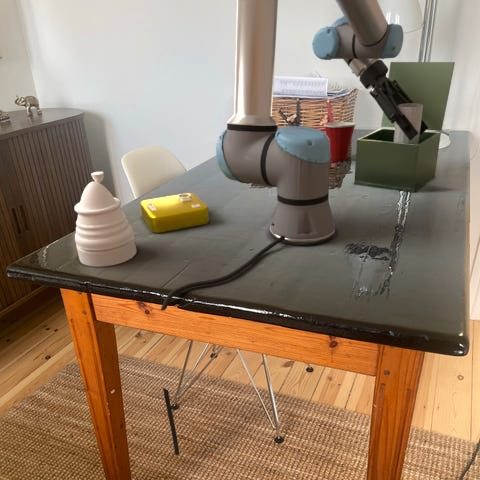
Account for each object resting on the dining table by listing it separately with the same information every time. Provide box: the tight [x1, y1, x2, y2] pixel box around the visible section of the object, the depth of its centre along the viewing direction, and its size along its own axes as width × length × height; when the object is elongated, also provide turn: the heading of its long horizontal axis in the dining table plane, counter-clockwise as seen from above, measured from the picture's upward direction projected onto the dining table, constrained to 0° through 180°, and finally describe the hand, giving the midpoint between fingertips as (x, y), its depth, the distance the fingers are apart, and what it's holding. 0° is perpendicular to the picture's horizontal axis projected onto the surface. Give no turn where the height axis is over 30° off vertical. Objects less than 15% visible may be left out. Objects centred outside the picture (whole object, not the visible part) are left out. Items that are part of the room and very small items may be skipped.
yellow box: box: [140, 192, 210, 234], centre depth 132 cm, size 15×15×5 cm
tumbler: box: [394, 103, 423, 144], centre depth 142 cm, size 7×7×11 cm
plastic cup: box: [323, 121, 357, 162], centre depth 173 cm, size 11×11×12 cm
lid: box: [380, 61, 456, 132], centre depth 147 cm, size 18×18×1 cm
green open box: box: [353, 127, 442, 193], centre depth 148 cm, size 17×18×13 cm
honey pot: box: [74, 171, 138, 268], centre depth 112 cm, size 13×13×18 cm
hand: (419, 134), depth 142 cm, fingers closed on tumbler, 7 cm apart
